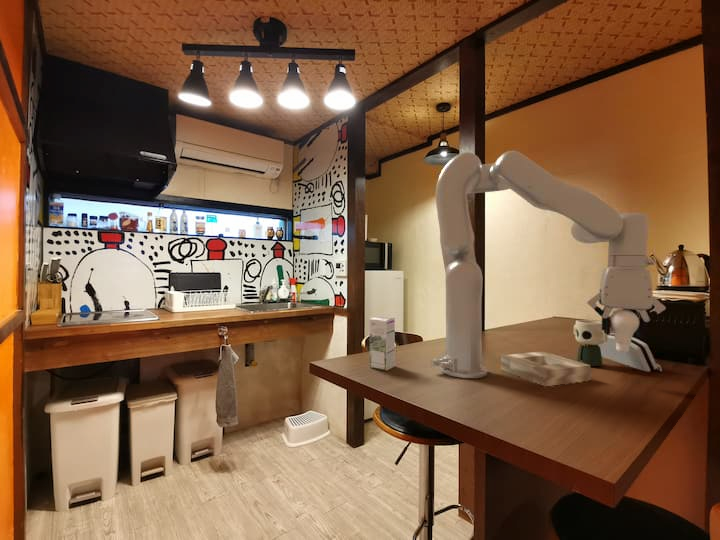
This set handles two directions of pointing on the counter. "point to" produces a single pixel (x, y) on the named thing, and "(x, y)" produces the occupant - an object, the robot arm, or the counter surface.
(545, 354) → the holder
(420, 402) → the counter surface
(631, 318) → the lightbulb
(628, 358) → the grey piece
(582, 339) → the character mug
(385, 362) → the syrup box
